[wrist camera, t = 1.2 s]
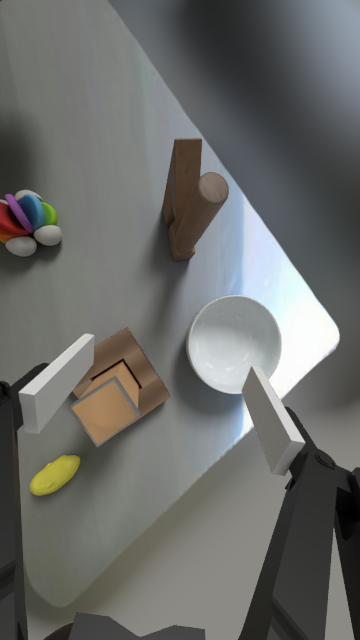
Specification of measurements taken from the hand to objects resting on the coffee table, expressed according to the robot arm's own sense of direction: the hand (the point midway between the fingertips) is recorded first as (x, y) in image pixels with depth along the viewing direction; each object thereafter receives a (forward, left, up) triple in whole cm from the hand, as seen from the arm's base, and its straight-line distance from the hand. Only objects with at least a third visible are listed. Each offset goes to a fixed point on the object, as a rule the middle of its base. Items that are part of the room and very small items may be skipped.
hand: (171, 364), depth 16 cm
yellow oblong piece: (+3, -26, -21) cm, 34 cm away
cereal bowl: (+10, +9, -21) cm, 25 cm away
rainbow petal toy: (-28, 0, -21) cm, 35 cm away
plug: (0, -9, -21) cm, 23 cm away
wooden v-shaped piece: (-11, +18, -21) cm, 30 cm away
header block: (0, -9, -21) cm, 23 cm away
